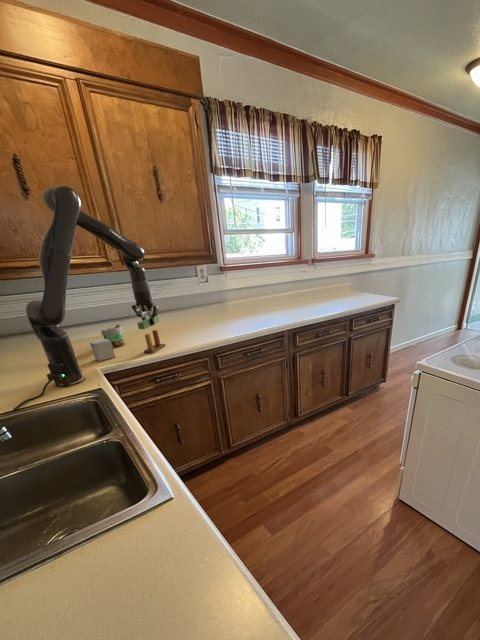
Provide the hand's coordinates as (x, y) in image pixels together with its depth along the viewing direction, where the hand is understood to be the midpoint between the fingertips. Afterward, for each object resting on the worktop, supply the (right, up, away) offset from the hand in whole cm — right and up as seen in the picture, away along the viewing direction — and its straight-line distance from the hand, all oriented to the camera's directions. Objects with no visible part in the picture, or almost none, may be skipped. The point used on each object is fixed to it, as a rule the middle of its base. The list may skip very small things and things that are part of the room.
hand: (149, 325), depth 166 cm
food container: (-22, -9, +12) cm, 27 cm away
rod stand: (0, -11, +6) cm, 13 cm away
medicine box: (-19, -18, -6) cm, 27 cm away
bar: (0, 0, 0) cm, 0 cm away
